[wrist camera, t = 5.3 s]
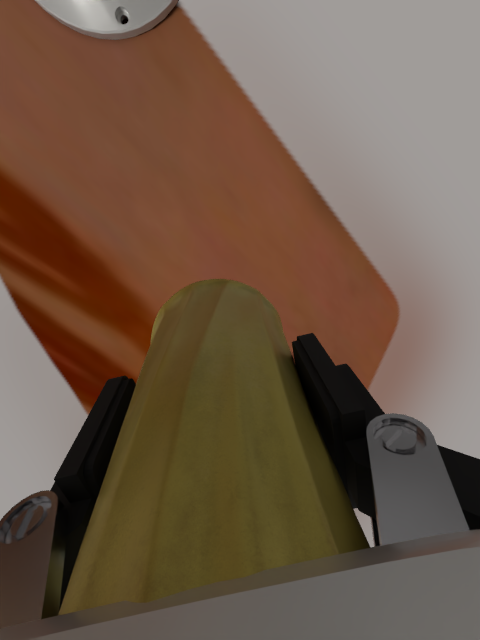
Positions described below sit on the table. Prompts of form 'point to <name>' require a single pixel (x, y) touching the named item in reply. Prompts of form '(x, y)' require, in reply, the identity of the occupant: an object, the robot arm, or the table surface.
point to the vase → (212, 460)
